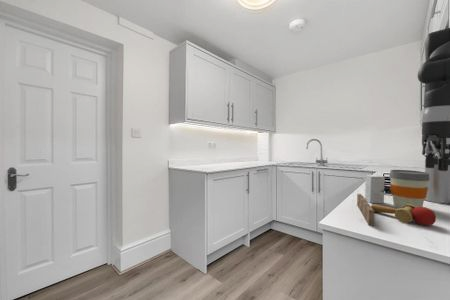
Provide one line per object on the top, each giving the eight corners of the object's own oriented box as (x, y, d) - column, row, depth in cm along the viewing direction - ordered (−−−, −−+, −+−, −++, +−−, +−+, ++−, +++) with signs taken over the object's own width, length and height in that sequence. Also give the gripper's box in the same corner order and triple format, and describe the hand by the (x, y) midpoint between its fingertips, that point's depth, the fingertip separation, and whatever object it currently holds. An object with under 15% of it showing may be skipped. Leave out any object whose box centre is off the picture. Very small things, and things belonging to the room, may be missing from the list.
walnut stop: (357, 205, 89) (357, 193, 89) (360, 205, 89) (361, 194, 89) (368, 225, 68) (369, 210, 68) (373, 226, 67) (374, 210, 67)
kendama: (367, 217, 79) (431, 227, 63) (367, 200, 80) (429, 206, 65) (377, 217, 83) (440, 226, 67) (376, 201, 84) (438, 207, 68)
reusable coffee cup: (386, 206, 87) (387, 171, 86) (390, 200, 96) (391, 168, 95) (427, 214, 78) (429, 175, 77) (428, 207, 87) (429, 171, 86)
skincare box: (370, 203, 92) (371, 176, 92) (364, 200, 97) (364, 174, 96) (384, 203, 92) (385, 176, 91) (377, 200, 96) (378, 174, 96)
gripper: (467, 118, 61) (464, 172, 61) (441, 122, 73) (439, 167, 74) (433, 119, 64) (431, 171, 64) (414, 123, 77) (412, 166, 77)
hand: (435, 169), depth 69 cm, fingers open, 8 cm apart
